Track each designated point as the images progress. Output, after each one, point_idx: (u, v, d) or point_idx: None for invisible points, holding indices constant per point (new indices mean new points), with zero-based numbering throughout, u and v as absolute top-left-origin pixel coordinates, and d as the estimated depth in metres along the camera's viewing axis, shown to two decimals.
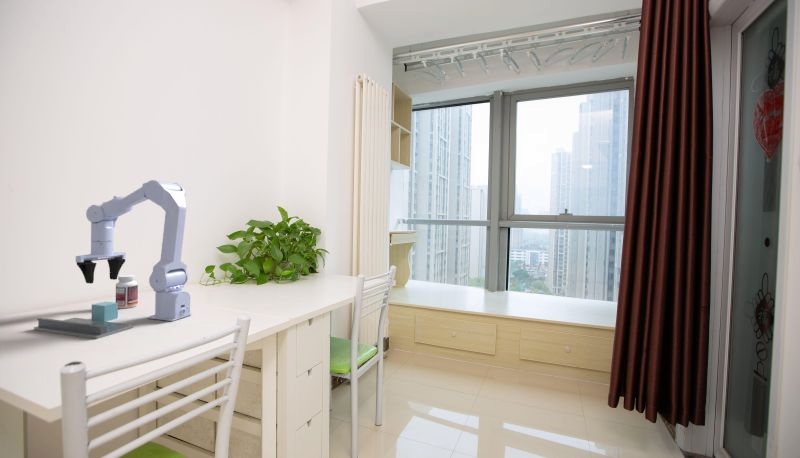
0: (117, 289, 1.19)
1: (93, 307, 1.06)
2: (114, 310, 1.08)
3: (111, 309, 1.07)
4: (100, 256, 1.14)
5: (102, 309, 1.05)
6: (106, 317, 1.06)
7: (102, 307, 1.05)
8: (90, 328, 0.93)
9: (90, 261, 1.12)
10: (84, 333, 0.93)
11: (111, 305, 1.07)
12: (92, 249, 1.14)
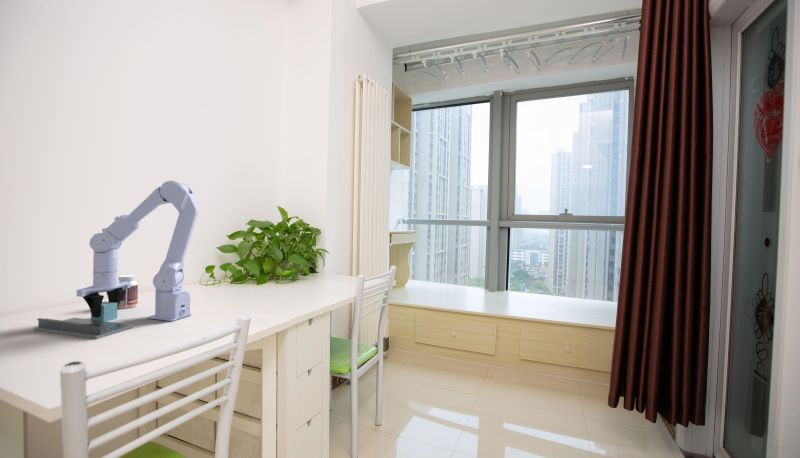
0: None
1: None
2: (113, 310, 1.08)
3: (110, 309, 1.07)
4: (103, 288, 1.04)
5: (101, 309, 1.05)
6: (106, 317, 1.05)
7: (101, 307, 1.05)
8: (90, 328, 0.93)
9: (97, 293, 1.04)
10: (84, 333, 0.93)
11: (110, 305, 1.07)
12: (94, 281, 1.04)
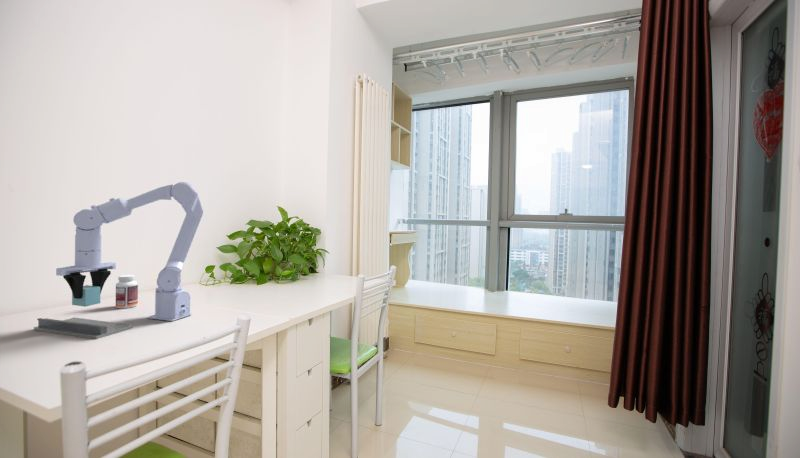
0: (117, 289, 1.19)
1: None
2: (96, 294, 1.02)
3: (93, 293, 1.01)
4: (85, 268, 0.99)
5: None
6: (88, 301, 1.00)
7: (83, 291, 0.99)
8: (90, 328, 0.93)
9: (79, 273, 0.98)
10: (84, 333, 0.93)
11: (93, 289, 1.01)
12: (76, 260, 0.99)
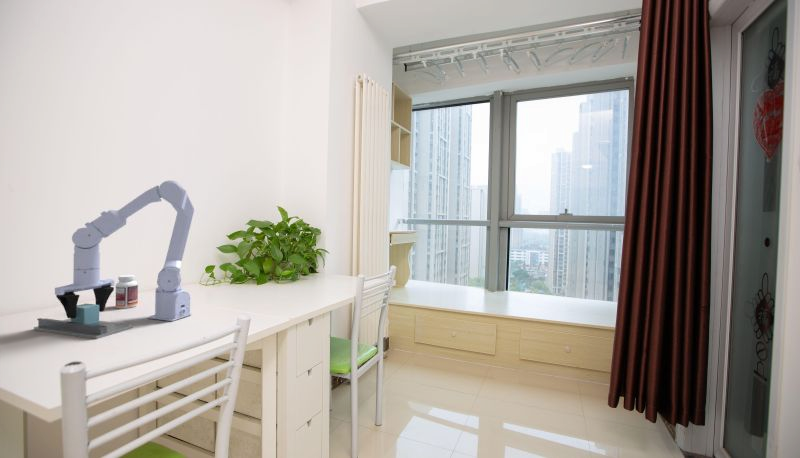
0: (117, 289, 1.19)
1: None
2: (95, 312, 1.02)
3: (92, 311, 1.01)
4: (84, 286, 0.98)
5: (81, 312, 0.99)
6: (87, 320, 0.99)
7: (82, 309, 0.99)
8: (90, 328, 0.93)
9: (72, 293, 0.97)
10: (84, 333, 0.93)
11: (92, 307, 1.01)
12: (75, 278, 0.98)
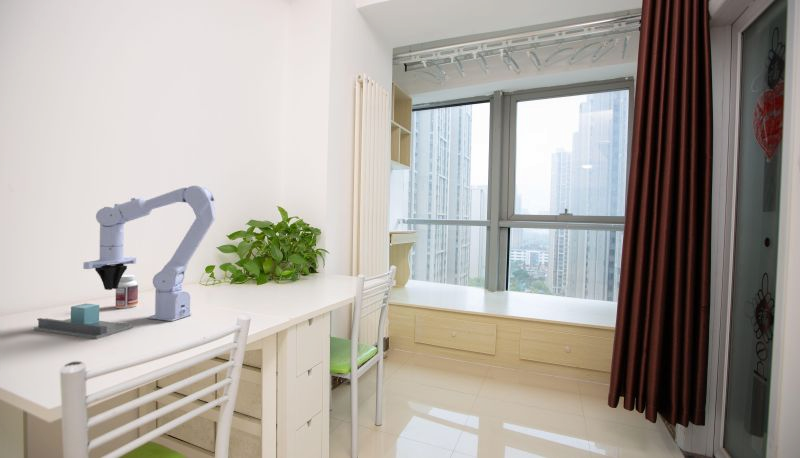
0: (117, 289, 1.19)
1: (72, 309, 1.00)
2: (95, 312, 1.02)
3: (92, 311, 1.01)
4: (110, 262, 1.05)
5: (81, 312, 0.99)
6: (87, 320, 0.99)
7: (82, 309, 0.99)
8: (90, 328, 0.93)
9: (109, 266, 1.06)
10: (84, 333, 0.93)
11: (92, 307, 1.01)
12: (101, 254, 1.05)
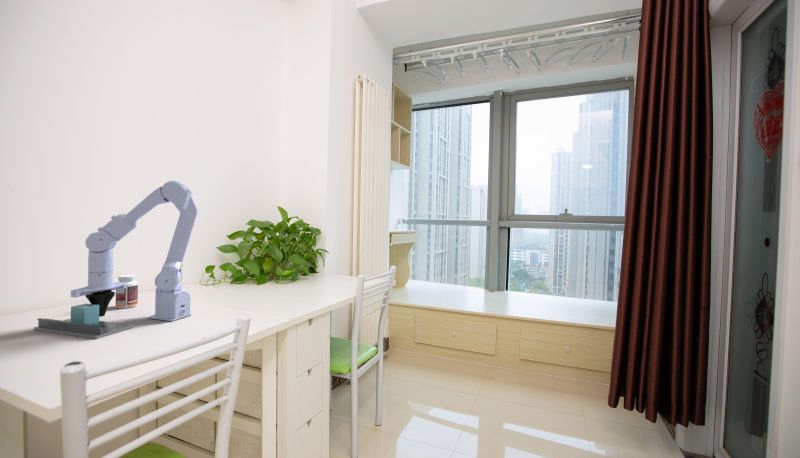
0: (117, 289, 1.19)
1: (72, 309, 1.00)
2: (95, 312, 1.02)
3: (92, 311, 1.01)
4: (98, 289, 1.02)
5: (81, 312, 0.99)
6: (87, 320, 0.99)
7: (82, 309, 0.99)
8: (90, 328, 0.93)
9: (100, 293, 1.04)
10: (84, 333, 0.93)
11: (92, 307, 1.01)
12: (89, 281, 1.02)
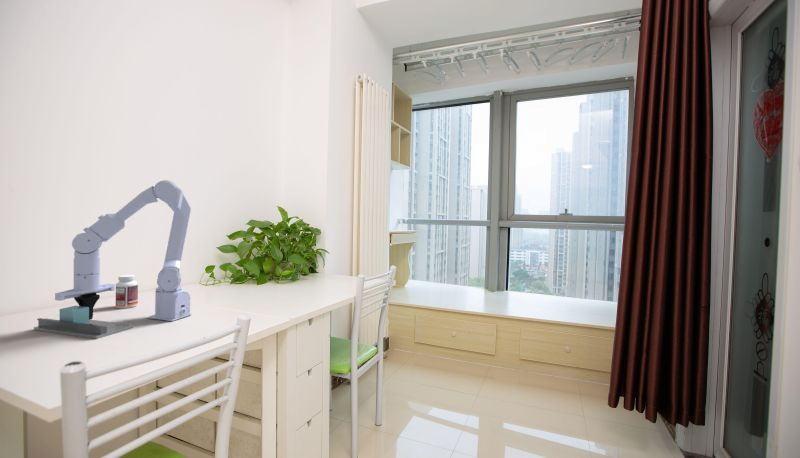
0: (117, 289, 1.19)
1: (61, 312, 0.97)
2: (85, 315, 0.99)
3: (81, 314, 0.98)
4: (84, 292, 0.98)
5: (70, 314, 0.96)
6: None
7: (71, 312, 0.96)
8: (90, 328, 0.93)
9: (89, 295, 1.01)
10: (84, 333, 0.93)
11: (81, 309, 0.98)
12: (75, 284, 0.98)
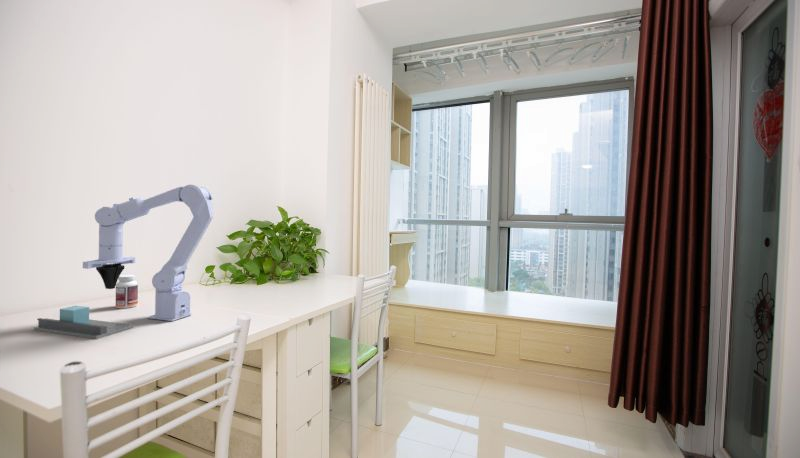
0: (117, 289, 1.19)
1: (61, 312, 0.97)
2: (85, 315, 0.99)
3: (81, 314, 0.98)
4: (109, 262, 1.06)
5: (70, 314, 0.96)
6: None
7: (71, 312, 0.96)
8: (90, 328, 0.93)
9: (110, 266, 1.08)
10: (84, 333, 0.93)
11: (81, 310, 0.98)
12: (100, 254, 1.06)
